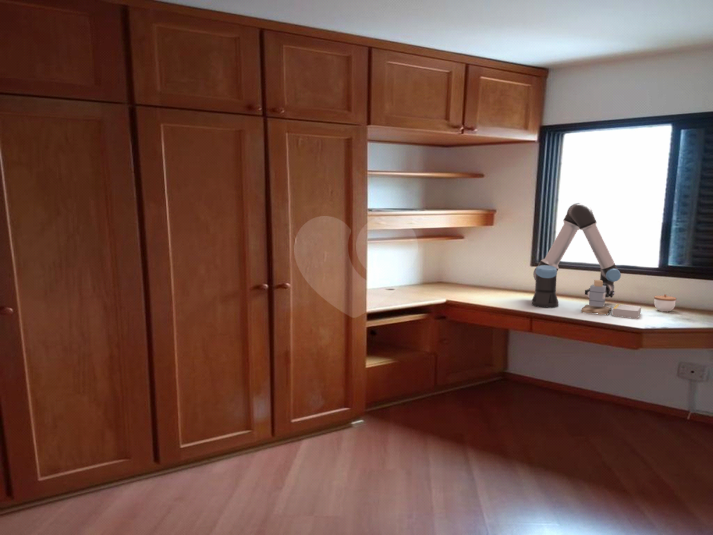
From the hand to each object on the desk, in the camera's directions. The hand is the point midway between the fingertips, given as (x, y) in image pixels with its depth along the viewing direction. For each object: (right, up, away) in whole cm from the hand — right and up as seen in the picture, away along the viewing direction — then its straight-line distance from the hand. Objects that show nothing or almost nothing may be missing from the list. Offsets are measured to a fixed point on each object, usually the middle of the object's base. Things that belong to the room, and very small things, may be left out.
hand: (595, 295), depth 281 cm
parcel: (+3, +5, +3) cm, 7 cm away
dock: (+16, -10, -2) cm, 19 cm away
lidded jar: (+43, -9, +8) cm, 44 cm away
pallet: (+3, -9, +5) cm, 11 cm away
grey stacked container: (+3, -6, +5) cm, 8 cm away
